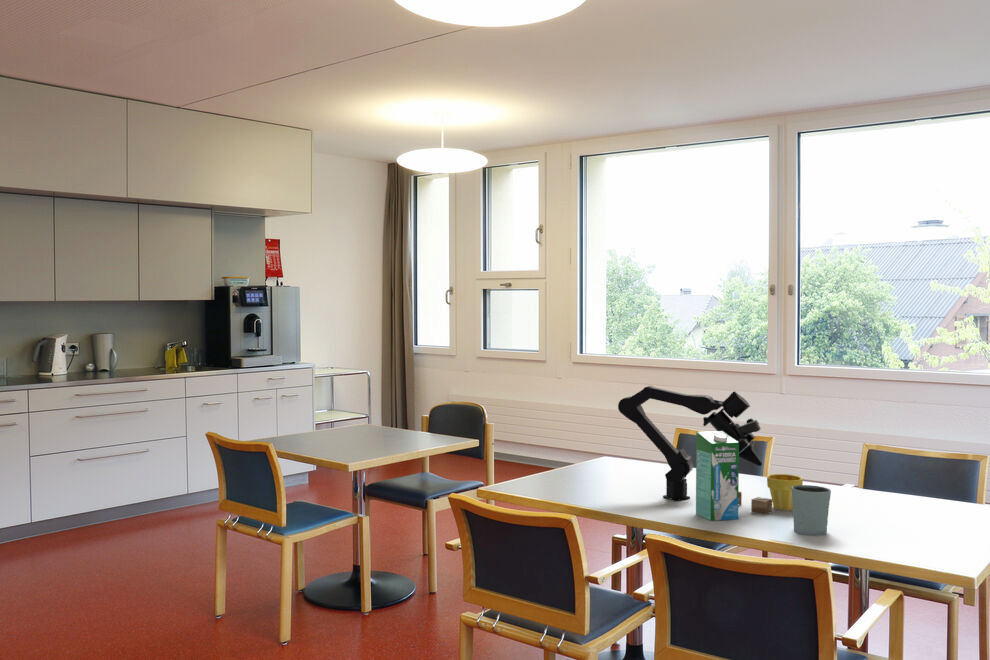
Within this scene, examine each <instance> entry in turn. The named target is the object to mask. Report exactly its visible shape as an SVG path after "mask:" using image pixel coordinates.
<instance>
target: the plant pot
mask: <svg viewBox="0 0 990 660" xmlns="http://www.w3.org/2000/svg"><path fill="white" fill-rule="evenodd" d="M766 479H767V480H766V482H767V488H768V489H769V491H770V492H769V493H770V496H771V499H772V508H774V509H775V508H776V510H778V509H781V510H780V511H793V502H792V486H796V485H804V484H803V477H802V476H799V475H794V474H788V473H774V474H769V475H767V476H766Z"/></svg>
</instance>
